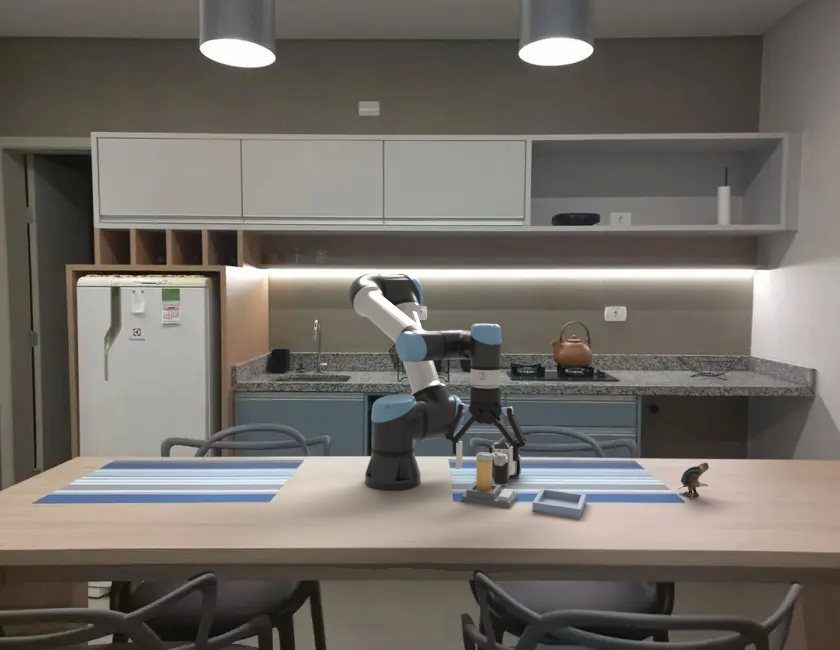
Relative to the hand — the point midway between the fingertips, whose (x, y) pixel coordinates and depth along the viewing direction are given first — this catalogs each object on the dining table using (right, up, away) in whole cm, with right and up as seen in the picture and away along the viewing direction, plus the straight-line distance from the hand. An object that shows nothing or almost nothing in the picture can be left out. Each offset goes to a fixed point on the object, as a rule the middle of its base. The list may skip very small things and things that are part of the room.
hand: (485, 470), depth 146 cm
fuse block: (+1, -7, 0) cm, 7 cm away
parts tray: (+17, -8, -5) cm, 20 cm away
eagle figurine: (+54, -8, +4) cm, 54 cm away
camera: (+8, -7, +19) cm, 21 cm away
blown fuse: (0, -6, +1) cm, 6 cm away
